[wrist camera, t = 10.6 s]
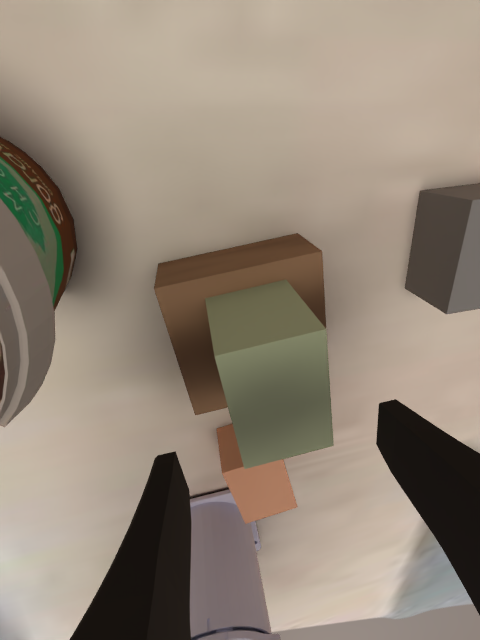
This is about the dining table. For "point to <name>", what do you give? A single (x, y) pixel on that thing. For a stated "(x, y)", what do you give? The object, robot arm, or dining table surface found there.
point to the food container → (29, 274)
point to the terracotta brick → (254, 481)
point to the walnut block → (220, 278)
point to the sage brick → (272, 371)
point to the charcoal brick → (447, 249)
